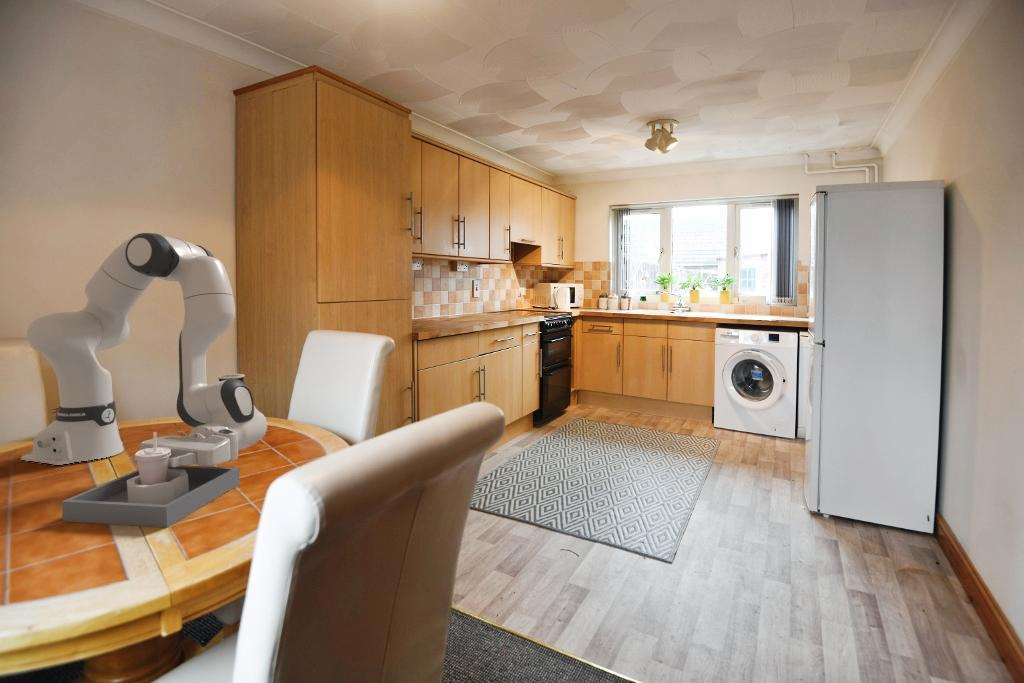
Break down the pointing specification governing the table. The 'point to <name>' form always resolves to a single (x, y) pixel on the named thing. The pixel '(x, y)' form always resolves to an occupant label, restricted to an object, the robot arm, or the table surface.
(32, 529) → the table surface
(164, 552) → the table surface
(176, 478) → the tray
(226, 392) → the robot arm
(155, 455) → the smoothie
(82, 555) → the table surface
